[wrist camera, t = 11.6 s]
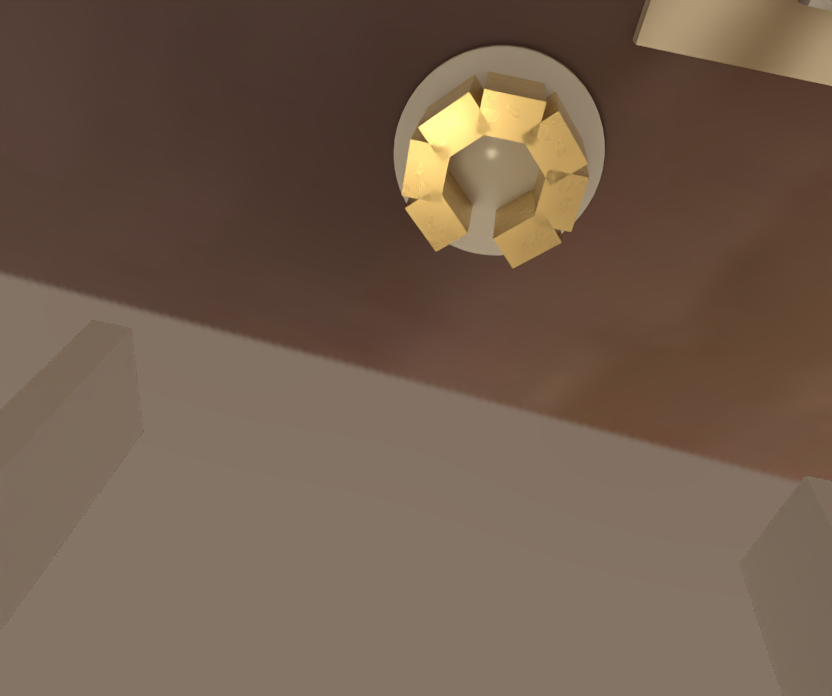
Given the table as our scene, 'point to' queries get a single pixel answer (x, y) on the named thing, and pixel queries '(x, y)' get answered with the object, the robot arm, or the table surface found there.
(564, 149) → the c link
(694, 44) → the peg stand
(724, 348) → the table surface
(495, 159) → the coaster
